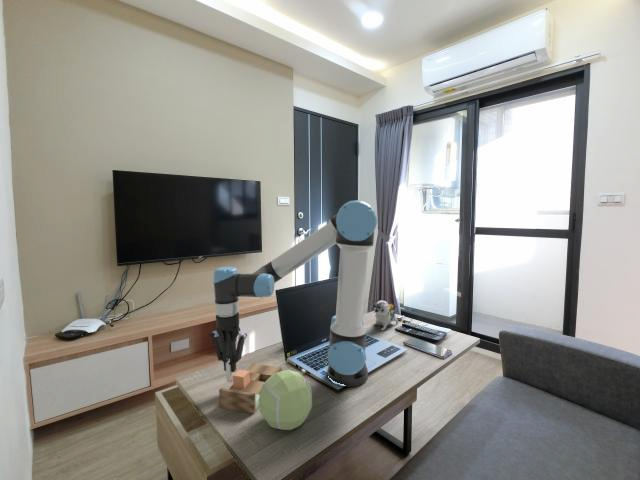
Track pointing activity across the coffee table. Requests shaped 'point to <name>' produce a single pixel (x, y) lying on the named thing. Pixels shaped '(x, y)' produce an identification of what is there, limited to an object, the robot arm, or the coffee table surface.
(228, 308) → the robot arm
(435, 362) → the coffee table surface
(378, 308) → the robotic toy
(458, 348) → the coffee table surface
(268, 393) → the decorative sphere
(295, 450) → the coffee table surface
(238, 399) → the wooden box
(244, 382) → the cube
